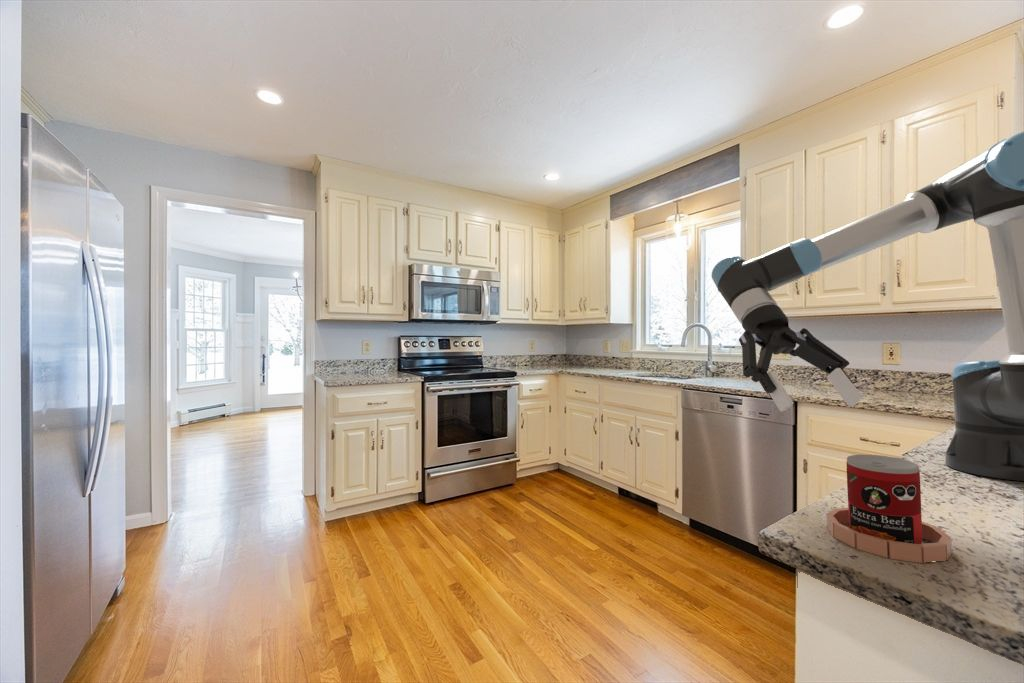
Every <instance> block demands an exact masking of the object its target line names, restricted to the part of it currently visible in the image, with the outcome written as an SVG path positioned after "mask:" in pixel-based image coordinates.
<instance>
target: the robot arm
mask: <svg viewBox="0 0 1024 683" xmlns="http://www.w3.org/2000/svg"><path fill="white" fill-rule="evenodd" d="M971 220H973V221H974V222H973V223H975V224H977V225H980V226H982V227H984V228H986V229H987V232H988V237H989V243H990V249H991V254H992V259H993V265H994V270H995V278H996V282H997V287H998V288H997V290H998V293H999V295H998V296H999V300H1000V305H1001V310H1002V311H1001V312H1002V316H1003V322H1004V323H1003V324H1004V329H1005V333H1006V339H1007V346H1008V353H1007V354H1006V355H1005V356H1003V358H1001V359H995V360H994V359H993V360H992V359H991V360H979V361H978V360H977V361H967V362H960V363H958V364H956V365H955V366H954V367H953V370H952V378H951V382H952V385H953V389H952V390H953V403H954V404H953V405H954V406H953V408H954V425H955V426H954V433H953V436H952V438H951V440H950V443H949V444H948V447H947V449H946V451H945V453H944V454H945V455H944V458H945V459H944V460H945V466H946V467H949V468H951V469H954V470H956V471H960V472H964V473H968V474H974V475H977V476H983V477H989V478H993V479H994V478H995V479H1001V480H1009V481H1018V482H1024V131H1021V132H1019V133H1016V134H1014V135H1012V136H1010V137H1008V138H1005V139H1003V140H1001V141H997V143H995V144H994V145H991V147H990V148H988V149H987V150H985V151H983V152H981V153H979V154H978V155H976V156H974V157H973V158H971V159H969V160H968V161H965V162H964V163H962V164H960V165H958V166H957V167H955V168H953V169H952V170H950V171H949V172H947V173H945V175H943V176H941V177H939V178H937V180H935V181H933V182H931V183H929V184H927V185H926V186H923V187H922V188H920V189H917V190H916V191H913V192H911V193H908V194H907V195H906V196H905V197H904V199H903V200H902V201H901V202H898V203H896V204H893V205H891V206H889V207H887V208H884V209H882V210H879V211H877V212H875V213H872V214H869V215H867V216H865V217H862V218H860V219H858V220H856V221H853V222H851V223H847V224H846V225H843V226H840V227H839V228H836V229H834V230H831V231H830V232H827V233H824V234H821V235H819V236H817V237H815V238H812V239H810V238H807V237H806V238H805V237H804V238H799V239H798V240H795V241H791V242H789V243H788V244H784V245H782V246H780V247H777V248H776V249H773V250H771V251H769V252H767V253H765V254H762V255H760V256H758V257H754V258H751V259H748V260H747V261H746V260H745V259H744V258H743V257H741V256H739V255H734V256H726V257H725V258H722V259H721V260H720V261H719V262H717V263H716V265H714V267H713V269H712V271H711V279H712V282H713V283H714V285H715V287H716V288H717V291H718V292H719V293H720V294H721V296H722V298H723V299H724V300H725V302H726V303H727V305H728V306H729V308H730V309H731V311H732V312H733V314H734V316H735V317H736V319H737V321H738V322H739V323H740V324H741V327H742V328H743V329H744V332H743V333H742V335H741V336H740V337H739V338H738V342H739V343H740V346H741V355H742V374H743V377H745V378H750V377H751V378H750V379H751V380H752V382H753V383H759V384H760V385H761V387H762V389H763V391H764V392H765V393H767V394H768V395H770V398H772V400H773V402H774V404H775V405H776V406H777V408H778V410H779V411H780V412H781V413H783V412H785V411H786V410H788V409H789V408H790V407H791V406H792V405H793V404H794V401H793V399H792V398H791V397H790V394H789V393H788V392H787V391H786V389H785V387H784V386H783V384H782V383H781V381H780V380H779V378H778V376H777V375H776V373H775V372H774V371H769V369H770V368H769V367H770V364H771V360H772V357H773V355H779V354H783V355H790V356H792V357H799V359H802V360H803V361H805V362H807V363H808V364H810V365H812V366H814V367H816V368H817V369H819V370H821V371H823V372H824V373H826V374H828V375H827V376H826V378H827V379H828V380H829V382H830V384H831V385H832V386H833V387H834V389H835V390H836V391H837V393H838V394H839V396H840V397H841V398H842V400H843V401H844V402H845V404H846V405H847V406H848V407H849V408H850V407H851V408H852V407H854V406H855V405H857V404H858V403H859V402H861V401H862V400H864V398H865V397H864V396H863V395H862V394H861V392H860V391H859V389H857V387H856V386H855V384H854V382H853V381H852V379H851V378H850V377H849V375H848V374H847V373H846V371H844V369H845V368H846V367H848V366H849V365H850V362H849V360H847V359H845V357H843V356H842V355H840V354H839V353H838V352H836V351H834V350H833V349H832V348H830V347H829V346H828V345H826V344H825V343H824V342H822V341H821V340H819V339H817V337H815V336H814V335H813V334H812V333H811V332H810V330H808V329H807V328H802V329H801V330H799V331H794V330H792V329H791V328H790V326H789V318H788V316H787V315H786V313H784V311H783V309H781V307H780V306H779V305H778V303H777V301H776V300H775V299H774V298H773V296H772V295H771V294H770V293H769V292H771V291H774V290H776V289H778V288H780V287H782V286H785V285H787V284H790V283H792V282H794V281H797V280H799V279H802V278H804V277H807V276H810V275H811V274H812V275H813V274H815V273H817V272H820V271H822V270H826V269H827V268H831V267H833V266H835V265H837V264H841V263H844V262H845V261H848V260H850V259H853V258H856V257H858V256H861V255H864V254H866V253H869V252H872V251H873V250H876V249H879V248H881V247H885V246H886V245H889V244H891V243H894V242H897V241H899V240H902V239H905V238H906V237H909V236H912V235H915V234H917V233H920V234H930V233H932V232H935V231H938V230H940V229H943V228H946V227H949V226H953V225H955V224H959V223H963V222H967V221H971ZM756 345H758V346H759V347H760V351H759V357H758V360H757V351H756V350H757V349H756ZM797 345H798V346H797Z"/></svg>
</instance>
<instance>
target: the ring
mask: <svg viewBox="0 0 1024 683" xmlns="http://www.w3.org/2000/svg"><path fill="white" fill-rule="evenodd" d="M844 524H849V513H848V507H840V508H833V509H831V510H830V511H828V512H827V513H826V529H827V530H828V532H829V533H830V534H831V536H832V537H833V538H834V539H836V540H838V541H840V542H842V543H844V544H846V545H848V546H850V547H852V548H854V549H857V550H860V551H863V552H866V553H869V554H870V553H871V554H873V555H876V556H880V557H883V558H887V559H888V558H889V559H890V560H891V559H892V560H897V561H898V560H899V561H905V562H911V563H918V562H919V564H926V563H925V562H932V561H944V562H947V561H946V560H948V561H949V559H948V558H950V557H951V555H952V536H950V535H948V533H946V532H945V531H943V530H942V529H941V528H939V527H938V526H935V525H933V524H930V523H927V522H925V521H922V537H923V538H922V539H924V538H925V539H924V540H927V539H928V540H927V541H929V540H931V541H932V542H933V543H932V542H931V541H930V542H928V543H926V542H925V543H922V544H912V543H905V542H897V541H889V540H885V539H881V538H877V537H874V536H870V535H866V534H863V533H859V532H857V531H855V530H853V529H850V528H849V526H846V525H844ZM920 562H921V563H920Z"/></svg>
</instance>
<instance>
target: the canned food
mask: <svg viewBox="0 0 1024 683" xmlns="http://www.w3.org/2000/svg"><path fill="white" fill-rule="evenodd" d="M845 464H846V485H847V488H846V489H847V508H848V513H849V523H848V528H850V529H853V530H855V531H857V532H859V533H863V534H866V535H870V536H874V537H877V538H881V539H885V540H889V541H897V542H905V543H912V544H923V538H922V522H923V521H922V518H923V517H922V516H923V515H922V496H921V476H920V475H921V473H920V472H921V471H920V468H919V465H918V464H917V463H915V462H912V461H910V460H908V459H903V458H898V457H893V456H886V455H876V454H852V455H849V456H847V457H846V462H845Z"/></svg>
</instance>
